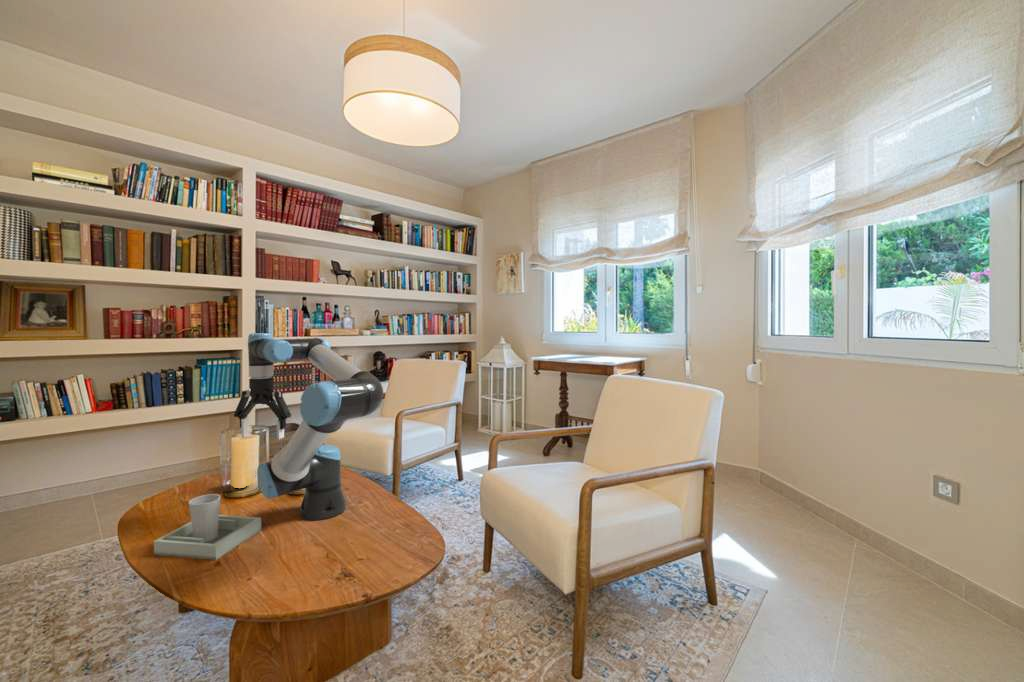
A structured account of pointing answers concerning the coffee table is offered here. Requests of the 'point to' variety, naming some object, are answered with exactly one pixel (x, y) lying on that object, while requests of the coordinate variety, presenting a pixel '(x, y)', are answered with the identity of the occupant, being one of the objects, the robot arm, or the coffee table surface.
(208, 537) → the cup
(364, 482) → the coffee table surface
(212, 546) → the box
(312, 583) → the coffee table surface
